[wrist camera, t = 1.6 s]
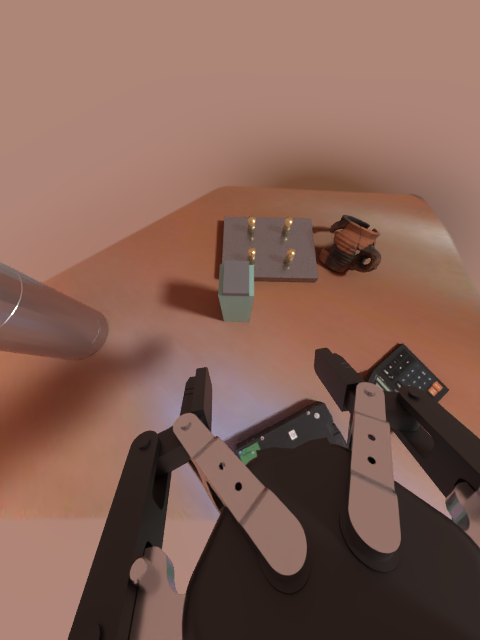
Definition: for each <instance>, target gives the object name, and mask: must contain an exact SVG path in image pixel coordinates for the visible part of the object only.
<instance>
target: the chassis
mask: <svg viewBox="0 0 480 640" xmlns="http://www.w3.org/2000/svg"><path fill="white" fill-rule="evenodd" d="M224 260H231V261H249V265H254V281H274V282H316V281H317V279H318V272H317V264H316V255H315V247H314V239H313V231H312V222H311V219H301V218H291V217H287V218H258V217H254V216H250V217H224V235H223V254H222V264H224Z"/></svg>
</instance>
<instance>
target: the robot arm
mask: <svg viewBox="0 0 480 640" xmlns="http://www.w3.org/2000/svg"><path fill="white" fill-rule="evenodd" d="M107 330H108V326H107V321H106V319H105V317H104V316H103V315H102V314H101V313H100V312H98V311H96V310H94V309H92V308H90V307H88V306H87V305H85V304H83V303H81V302H79V301H77V300H75V299H73V298H71V297H69V296H67V295H65V294H63V293H61V292H59V291H57V290H55V289H53V288H51V287H49V286H47V285H45V284H43V283H41V282H39V281H37V280H35V279H33V278H31V277H29V276H27V275H25V274H23V273H21V272H20V271H18V270H15V269H14V268H11V267H10V266H7V265H5V264H3V263H1V262H0V351H5V352H13V353H20V354H28V355H35V356H43V357H50V358H58V359H65V360H80V359H83V358H86V357H88V356H90V355H92V354H93V353H95V352H96V351H97V350H98V349H99V348H100V347H101V345H102V344H103V342H104V341H105V338H106V336H107ZM314 369H315V372H316V374H317V376H318V377H319V379H320V380H321V382H322V383H323V384H324V386H325V387H326V389H327V390H328V392H329V393H330V395H331V396H332V398H333V399H334V401H335V402H336V404H337V405H338V407H339V408H340V410H341V411H342V412H343V411H349V412H350V421H349V430H348V440H347V447H346V448H345V447H343V446H340V445H337V444H333V443H330V442H329V440H328V439H327V437H325V438H319V439H314V440H309V441H307V442H305V443H304V444H302V445H300V446H298V447H296V448H293V449H290V448H279V447H271V448H266V449H261V450H256V454H257V457H255V458H253V459H252V460H250V461H249V462H248V463H247V464H246V465H244V464H243V463H242V462H241V460H240V459H239V458H238V457H237V456H236V455H235V454H234V453H233V452H232V451H231V449H230V448H229V447H228V446H227V445H226V444H225V443H224V442H223V441H222V440H221V439H220V438H219V437H218V436H216V437H215V436H214V435H213V434H212V433H211V421H212V384H211V380H210V376H209V372H208V368H207V367H204V368H198V369H196V376H195V377H190V378H189V380H188V381H187V382H186V386H185V391H184V397H183V402H182V407H181V413H180V417H179V418H177V420H176V421H175V423H174V425H173V426H172V427H170V428H169V429H167V430H165V431H163V432H160V433H158V434H157V433H156V432H154V431H146V432H144V433H142V434H140V435H139V436H138V437H137V438H136V439H135V440H134V441H133V443H132V444H131V447H130V450H129V453H128V456H127V459H126V462H125V465H124V468H123V471H122V475H121V478H120V481H119V484H118V487H117V490H116V493H115V496H114V499H113V502H112V505H111V508H110V511H109V514H108V517H107V520H106V524H105V527H104V530H103V533H102V536H101V539H100V542H99V545H98V548H97V551H96V554H95V558H94V561H93V564H92V567H91V569H90V573H89V576H88V579H87V582H86V585H85V588H84V591H83V594H82V597H81V600H80V604H79V606H78V609H77V612H76V615H75V618H74V622H73V625H72V628H71V631H70V634H69V637H68V640H480V439H479V438H478V437H477V436H476V435H474V434H473V433H472V432H471V431H470V430H469V429H467V428H466V427H465V426H464V425H463V424H462V423H461V422H459V421H458V420H457V419H456V418H455V417H454V416H452V415H451V414H450V413H449V412H448V411H447V410H445V409H444V408H443V407H442V406H441V405H440V404H439V403H437V402H436V401H435V400H434V399H433V398H432V397H430V396H429V395H428V394H427V393H426V392H424V391H423V390H421V389H419V388H416V387H413V386H402V387H400V388H399V391H398V392H393V391H383V390H382V389H381V388H379V387H378V386H376V385H374V384H372V383H368V382H365V381H364V379H363V378H362V377H361V376H360V375H359V374H358V373H357V372H356V371H355V370H354V369H353V368H352V367H351V366H350V365H349V364H348V363H347V362H346V361H345V359H344V358H343V357H341V356H339V355H338V354H336V353H334V354H332V352H331V351H330V350H329V349H328V348H321V349H316V350H315V360H314ZM390 429H392V430H393V431H394V433H395V434H396V435H397V436H398V438H399V439H400V440H401V441H402V443H403V444H404V445H405V447H406V448H407V449H408V450H409V452H410V453H411V454H412V455H413V457H414V458H415V459H416V461H417V462H418V463H419V464H420V466H421V467H422V468H423V469H424V471H425V472H426V473H427V474H428V476H429V477H430V478H431V480H432V481H433V482H434V483H435V485H436V486H437V487H438V488H439V490H440V491H441V492H442V494H443V495H444V496H445V497H446V507H447V509H448V511H449V513H450V515H451V516H452V520H451V519H449V518H448V517H447V516H445V515H444V514H442V513H441V512H439V511H438V510H436V509H435V508H434V507H432V506H431V505H429V504H428V503H426V502H425V501H423V500H422V499H420V498H419V497H418V496H416V495H415V494H413V493H412V492H410V491H409V490H407V489H406V488H405V487H403V486H402V485H400V484H399V483H397V482H396V481H394V476H393V463H392V450H391V437H390ZM424 429H425V430H426V431H427V432H428V433H429V434H430V435H431V436H430V435H429V434H428V433H427V432H426V431H425V430H424ZM187 462H188V464H189V465H190V467H191V469H192V470H193V472H194V473H195V475H196V476H197V478H198V479H199V481H200V482H201V484H202V485H203V487H204V489H205V490H206V492H207V494H208V496H209V498H210V499H211V501H212V502H213V504H214V506H215V507H216V509H217V510H218V512H219V513H220V516H219V518H218V520H217V522H216V524H215V527H214V529H213V531H212V533H211V535H210V537H209V539H208V542H207V544H206V546H205V548H204V550H203V552H202V554H201V557H200V559H199V561H198V563H197V565H196V567H195V569H194V571H193V574H192V576H191V578H190V581H189V584H188V587H187V591H186V594H178V593H177V591H176V587H175V582H174V567H173V564H172V561H171V560H170V559H169V557H168V556H167V555H166V554H165V553H164V552H163V550H162V543H163V535H164V528H165V520H166V512H167V504H168V496H169V488H170V480H171V472H172V471H173V470H175V469H176V468H178V467H180V466H182V465H183V464H185V463H187Z"/></svg>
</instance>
